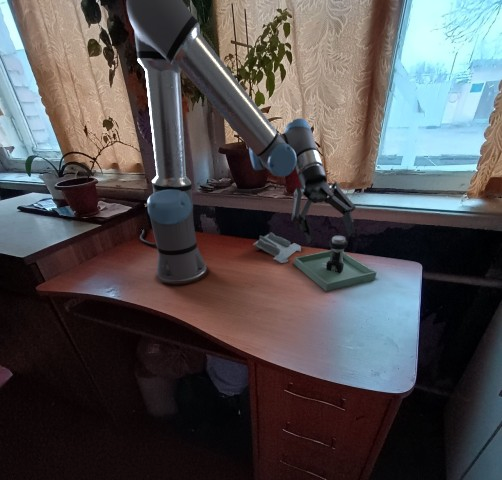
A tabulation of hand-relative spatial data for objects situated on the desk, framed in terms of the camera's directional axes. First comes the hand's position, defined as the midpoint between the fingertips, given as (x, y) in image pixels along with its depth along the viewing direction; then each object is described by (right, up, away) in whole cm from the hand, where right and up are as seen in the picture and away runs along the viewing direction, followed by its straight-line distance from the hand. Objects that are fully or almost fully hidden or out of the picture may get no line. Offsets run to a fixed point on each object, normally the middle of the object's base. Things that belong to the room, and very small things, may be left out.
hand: (332, 238), depth 90 cm
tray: (+1, -9, +5) cm, 10 cm away
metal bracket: (-15, 0, +18) cm, 23 cm away
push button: (+1, -8, +4) cm, 10 cm away
